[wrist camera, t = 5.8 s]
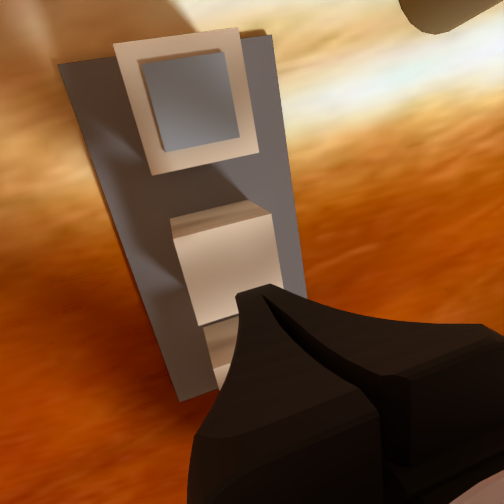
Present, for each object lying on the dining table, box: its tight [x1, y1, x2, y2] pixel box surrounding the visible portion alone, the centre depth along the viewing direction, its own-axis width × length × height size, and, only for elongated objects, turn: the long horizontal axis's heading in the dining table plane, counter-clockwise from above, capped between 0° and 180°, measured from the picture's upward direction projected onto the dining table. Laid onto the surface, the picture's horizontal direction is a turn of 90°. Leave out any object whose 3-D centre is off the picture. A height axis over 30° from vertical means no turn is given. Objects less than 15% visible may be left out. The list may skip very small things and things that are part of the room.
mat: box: [58, 35, 307, 402], centre depth 18 cm, size 20×10×1 cm, turn 11°
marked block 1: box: [113, 27, 259, 176], centre depth 14 cm, size 4×4×4 cm
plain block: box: [170, 200, 284, 326], centre depth 16 cm, size 4×4×4 cm
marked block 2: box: [203, 316, 239, 391], centre depth 19 cm, size 4×4×4 cm
